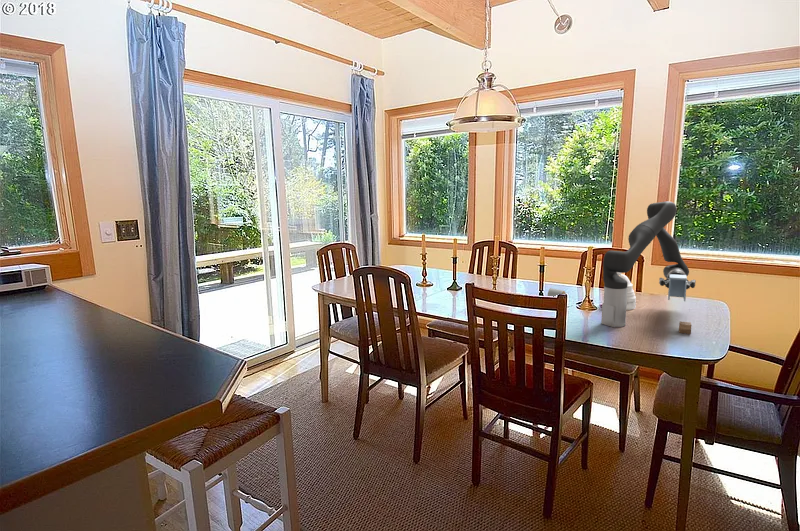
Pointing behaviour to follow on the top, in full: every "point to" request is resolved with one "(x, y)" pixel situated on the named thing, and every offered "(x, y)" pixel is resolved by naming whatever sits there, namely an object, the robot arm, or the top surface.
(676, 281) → the tall pale blue box
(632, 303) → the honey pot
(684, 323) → the cube
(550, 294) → the ceramic mug
